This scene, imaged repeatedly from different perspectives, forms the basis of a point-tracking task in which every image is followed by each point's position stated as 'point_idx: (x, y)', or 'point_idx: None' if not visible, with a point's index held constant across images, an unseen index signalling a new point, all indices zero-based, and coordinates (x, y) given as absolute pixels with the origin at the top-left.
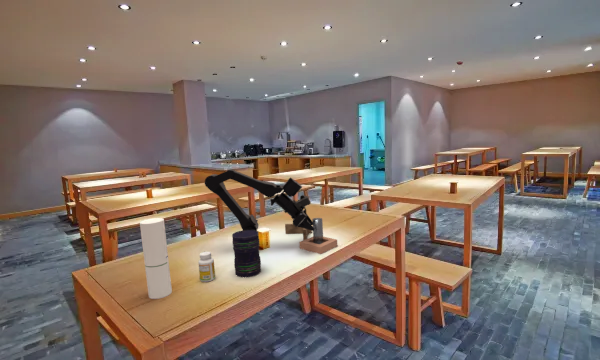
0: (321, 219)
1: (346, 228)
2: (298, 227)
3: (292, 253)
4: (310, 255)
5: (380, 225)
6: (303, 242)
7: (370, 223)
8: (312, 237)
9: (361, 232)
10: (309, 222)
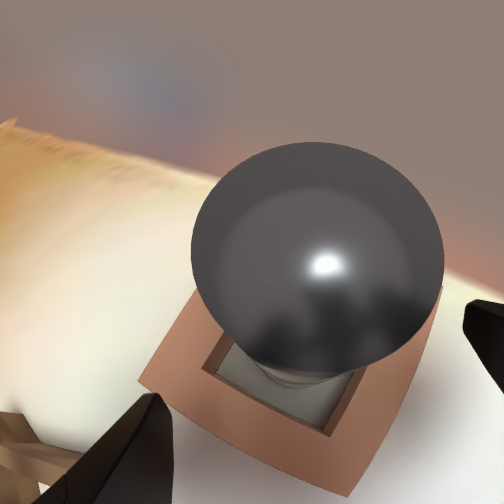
0: (340, 150)
1: (5, 233)
2: (11, 495)
3: (432, 485)
4: (453, 360)
5: (31, 136)
6: (360, 461)
7: (2, 167)
8: (205, 412)
9: (66, 165)
10: (161, 462)
